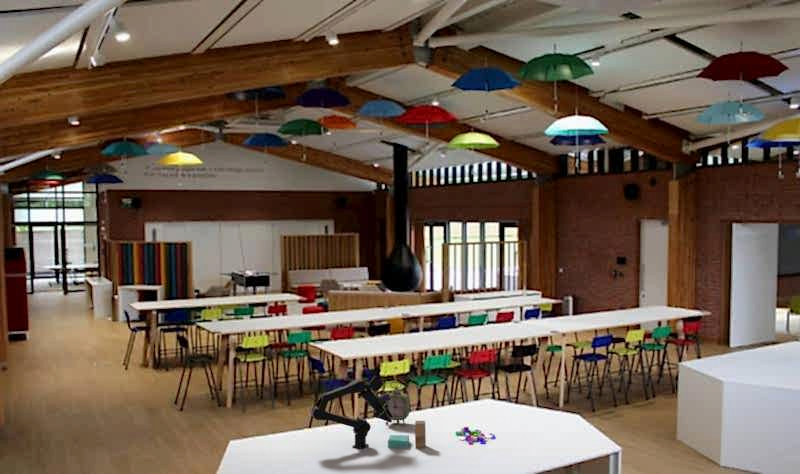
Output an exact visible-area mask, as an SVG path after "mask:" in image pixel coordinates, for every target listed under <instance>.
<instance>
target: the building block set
mask: <svg viewBox="0 0 800 474" xmlns="http://www.w3.org/2000/svg"><path fill="white" fill-rule="evenodd" d="M454 434H455V436H459V437H458V441H462V440H464V441H465V442H466V441H468V442H467V444H468V443H469V444H468V445H473V442H475V441H476V442H479V443H480V445H486V444H487V443H486V442H488V441H489V440H495V439H496V436H495V434H494V433H493V434H492V433H482V430H479V429H475V430H471V429H469V426H462V427H460V429H459V430H457V431H455V433H454ZM473 434H476V435H473ZM460 435H461V436H460ZM463 436H464V437H463ZM473 436H478V437H473ZM465 439H466V440H465Z"/></svg>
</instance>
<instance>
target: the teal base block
mask: <svg viewBox="0 0 800 474" xmlns="http://www.w3.org/2000/svg"><path fill="white" fill-rule="evenodd" d="M409 444H410V435H407V434H406V435H404V434H403V435H402V434H401V435H399V434H398V435H396V434H394V435H393V434H390V436H389V437H388V440H387V448H388V449H408V446H409Z"/></svg>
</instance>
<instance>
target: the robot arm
mask: <svg viewBox="0 0 800 474" xmlns="http://www.w3.org/2000/svg"><path fill="white" fill-rule="evenodd" d="M384 385H385V383H384V381H382V379H380V378H378V376H377V375H374V376H373V377H372V378H371V380H370V381H362V380H361V379H359V378H356V379H354V380H352V381H351V382H349V383H348V384H347V385H345V386H342V387H339V388H337V389H333V390H330V391H328V392H323V393H322V394H321V396H319V399H317V401H316V403H315V404H314V406H313V407H311V410H310V414H311V416H312V417H313V418H314V419H315V420H317V421H331V422H334V423H337V424H341V425H343V426H347V427H351V428H353V429H352V431H353V433H354V445H352V448H355V449H365V448H366V447H368V446H369V444H368V443H367V436H368V433H369V432H370V431H371V424H370V423H369V422H368V420H367V419H366V418H365V417H360V416H358V415H357V416H356V418H352V417H347V416H345V415H341V414H339V413H338V414H337V413H334V412H330V411H328V410H327V406H328V405H329V402H330V401H333V400H335V399H338V398H341V397H344V396H347V395H349V394H357V399H360V398H362V399H363V400H364V401H365V402H366V403H367V404H368V406H370V407H371V408H372V409H373V411H374V412H373V415H374V417H375V418H376V419H380V420H382V421H385V422H387V421H388V423H392V422H393V420H391V419H390V417H391V418H392V417H393V416H392V414H391V412H390V411H389V409H388V403H387V400H390V399H391V397H390V394H389V393H390V392H388V391H386V390H384V391H383V392H382V394H380V395H377V394H375V393H374V392H379V390H381V389H382V388H383V387H384ZM385 403H386V404H385Z"/></svg>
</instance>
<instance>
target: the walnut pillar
mask: <svg viewBox="0 0 800 474" xmlns="http://www.w3.org/2000/svg"><path fill="white" fill-rule="evenodd" d="M414 431H415V432H414V433H415V437H414V438H415V440H414V441H415V449H423V450H425V449H426V443H427V442H426V440H427V439H426V420H415V422H414Z"/></svg>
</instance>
